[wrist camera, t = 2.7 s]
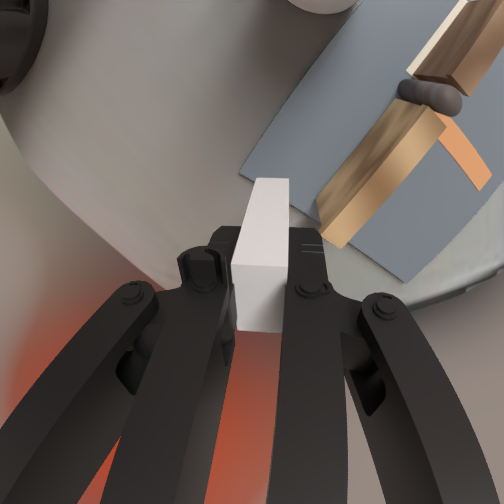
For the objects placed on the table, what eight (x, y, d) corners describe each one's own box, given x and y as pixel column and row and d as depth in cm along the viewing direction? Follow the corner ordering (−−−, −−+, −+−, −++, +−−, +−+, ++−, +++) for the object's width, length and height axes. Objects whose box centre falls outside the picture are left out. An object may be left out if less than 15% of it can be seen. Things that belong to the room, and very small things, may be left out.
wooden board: (392, 95, 17) (428, 106, 12) (408, 110, 17) (447, 126, 12) (312, 196, 23) (320, 235, 18) (329, 207, 23) (340, 249, 18)
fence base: (393, 91, 17) (430, 100, 12) (463, -1, 10) (506, -10, 4) (410, 107, 17) (451, 123, 12) (478, 15, 10) (523, 13, 5)
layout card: (239, 170, 23) (238, 172, 22) (410, -51, 8) (412, -53, 8) (405, 281, 28) (406, 284, 27) (543, 112, 13) (546, 114, 12)
